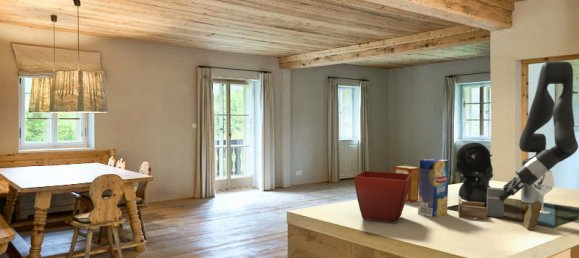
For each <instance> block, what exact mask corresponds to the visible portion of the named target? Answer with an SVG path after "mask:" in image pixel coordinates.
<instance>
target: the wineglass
mask: <svg viewBox="0 0 579 258" xmlns="http://www.w3.org/2000/svg"><path fill="white" fill-rule="evenodd" d="M533 186H534V188H535V189H536V190H537V191H538V192H539V193H540V194H541V196H542V200H541V203H542V207H541V210H540V215H541V214H542V215H550V214H551V211H547V210H544V201H545V199H544V197H545V195H546V194H548V193H549V192H551V191H552V190H553V189H554V188H555V179H554V175H553V171H552V170H549V171H547V172H546V174H545V175H543V176H542V177H541V178H540V179H538V180H537V181H536V182H535V183H533Z"/></svg>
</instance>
